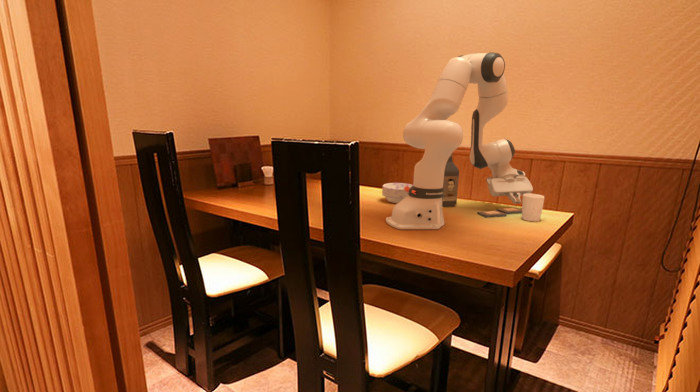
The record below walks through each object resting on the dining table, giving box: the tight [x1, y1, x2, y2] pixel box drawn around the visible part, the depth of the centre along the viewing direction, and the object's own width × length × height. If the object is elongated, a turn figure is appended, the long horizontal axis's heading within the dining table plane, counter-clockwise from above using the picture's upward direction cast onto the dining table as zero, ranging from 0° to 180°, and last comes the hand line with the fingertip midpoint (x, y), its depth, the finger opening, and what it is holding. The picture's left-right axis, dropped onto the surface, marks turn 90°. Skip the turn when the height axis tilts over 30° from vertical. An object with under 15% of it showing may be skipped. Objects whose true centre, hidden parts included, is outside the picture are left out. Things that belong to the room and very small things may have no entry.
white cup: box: [521, 193, 545, 222], centre depth 150 cm, size 8×8×10 cm
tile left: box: [476, 210, 508, 219], centre depth 156 cm, size 10×6×1 cm, turn 106°
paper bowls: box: [382, 182, 413, 204], centre depth 177 cm, size 15×15×8 cm
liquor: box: [442, 151, 460, 208], centre depth 170 cm, size 9×9×30 cm
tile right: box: [495, 207, 522, 215], centre depth 162 cm, size 10×6×1 cm, turn 106°
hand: (517, 202), depth 158 cm, fingers closed
